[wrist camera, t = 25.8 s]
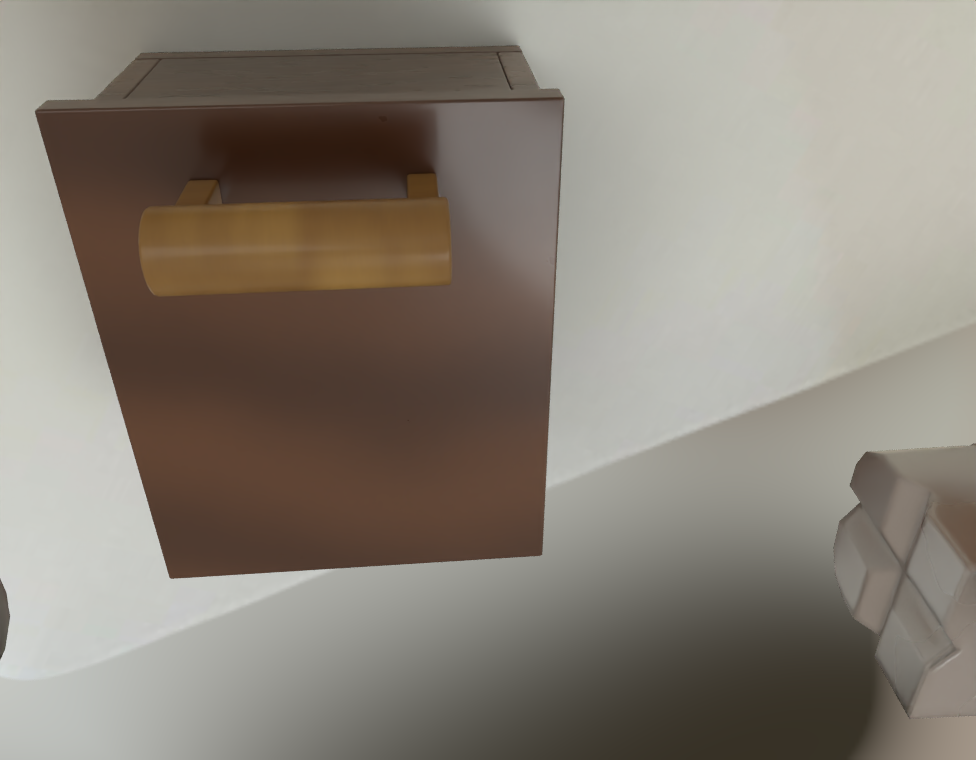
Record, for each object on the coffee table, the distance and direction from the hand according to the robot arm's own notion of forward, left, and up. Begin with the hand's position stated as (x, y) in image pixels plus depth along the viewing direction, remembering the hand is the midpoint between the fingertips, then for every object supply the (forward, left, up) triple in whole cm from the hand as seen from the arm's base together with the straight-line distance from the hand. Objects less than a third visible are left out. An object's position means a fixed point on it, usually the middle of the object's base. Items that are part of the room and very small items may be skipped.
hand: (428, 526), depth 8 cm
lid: (+2, +7, -14) cm, 16 cm away
